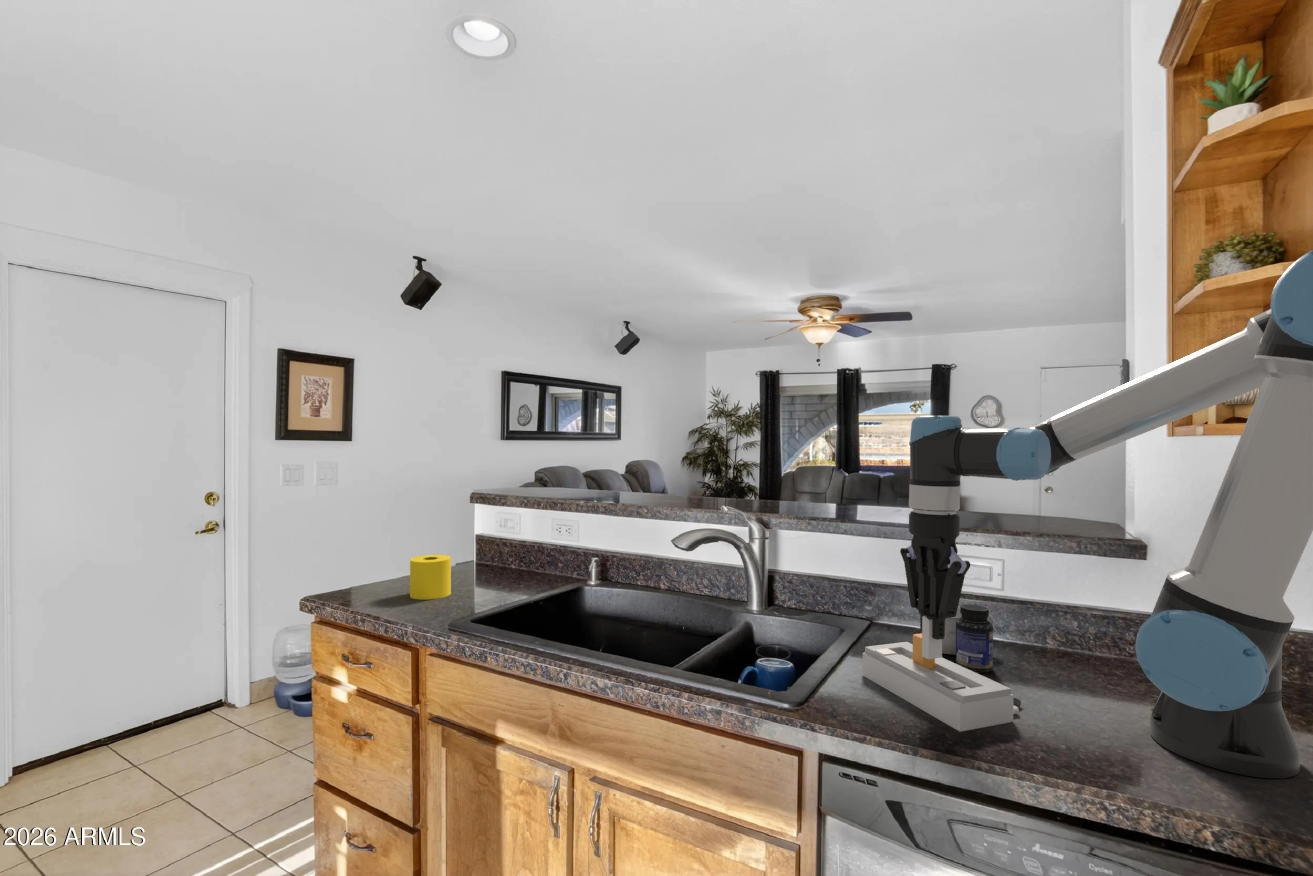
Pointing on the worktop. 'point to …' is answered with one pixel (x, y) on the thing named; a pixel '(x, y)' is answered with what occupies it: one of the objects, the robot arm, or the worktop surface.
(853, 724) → the worktop surface
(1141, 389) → the robot arm
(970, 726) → the slider switch box
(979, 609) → the pill bottle
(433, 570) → the yellow toilet paper roll
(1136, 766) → the worktop surface
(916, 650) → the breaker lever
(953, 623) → the teacup
